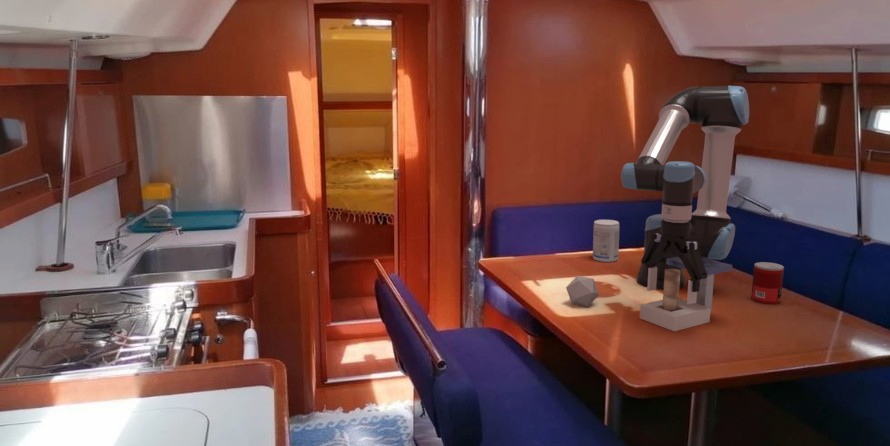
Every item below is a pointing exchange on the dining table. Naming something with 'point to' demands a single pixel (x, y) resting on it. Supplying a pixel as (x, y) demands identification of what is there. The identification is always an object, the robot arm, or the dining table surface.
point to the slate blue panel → (705, 284)
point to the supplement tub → (606, 240)
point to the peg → (671, 290)
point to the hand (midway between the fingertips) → (670, 296)
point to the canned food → (767, 282)
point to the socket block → (675, 315)
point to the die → (582, 291)
